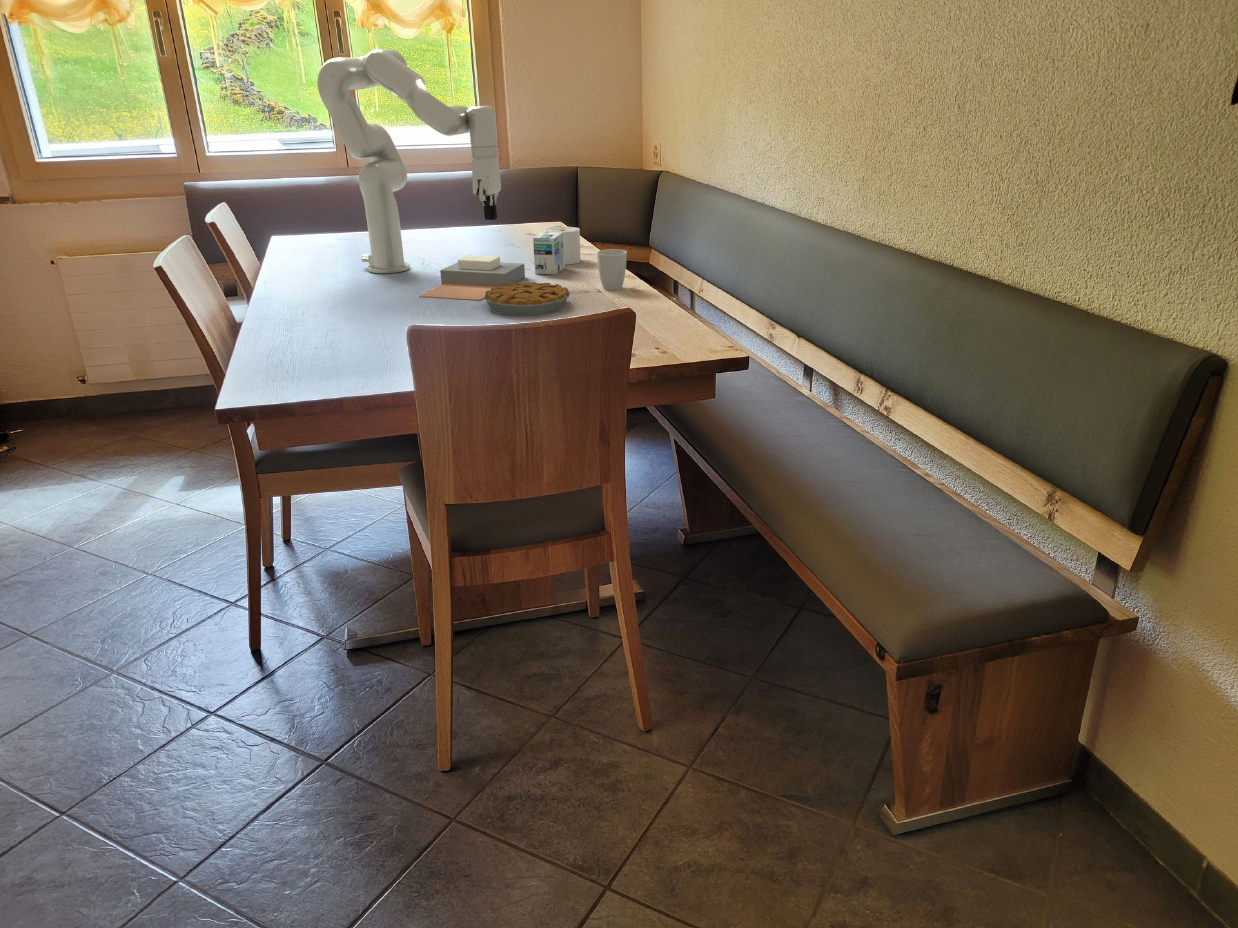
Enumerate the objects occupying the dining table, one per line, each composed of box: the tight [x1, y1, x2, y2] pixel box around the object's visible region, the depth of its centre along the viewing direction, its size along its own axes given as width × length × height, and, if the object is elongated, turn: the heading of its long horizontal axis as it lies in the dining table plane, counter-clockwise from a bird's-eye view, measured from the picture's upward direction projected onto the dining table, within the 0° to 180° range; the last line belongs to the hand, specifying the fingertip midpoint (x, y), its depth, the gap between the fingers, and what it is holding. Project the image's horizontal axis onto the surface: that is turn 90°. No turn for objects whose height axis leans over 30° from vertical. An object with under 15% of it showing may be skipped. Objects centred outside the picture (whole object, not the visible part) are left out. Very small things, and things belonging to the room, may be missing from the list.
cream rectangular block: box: [457, 254, 501, 270], centre depth 253 cm, size 10×7×2 cm
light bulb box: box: [532, 231, 565, 275], centre depth 264 cm, size 11×7×11 cm, turn 168°
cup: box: [596, 248, 628, 291], centre depth 242 cm, size 8×8×10 cm
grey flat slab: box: [439, 261, 526, 287], centre depth 254 cm, size 20×14×4 cm
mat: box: [418, 283, 497, 302], centre depth 242 cm, size 18×15×1 cm
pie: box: [482, 281, 571, 317], centre depth 226 cm, size 22×22×5 cm
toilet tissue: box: [545, 224, 582, 266], centre depth 276 cm, size 11×12×10 cm
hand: (491, 219), depth 256 cm, fingers closed
